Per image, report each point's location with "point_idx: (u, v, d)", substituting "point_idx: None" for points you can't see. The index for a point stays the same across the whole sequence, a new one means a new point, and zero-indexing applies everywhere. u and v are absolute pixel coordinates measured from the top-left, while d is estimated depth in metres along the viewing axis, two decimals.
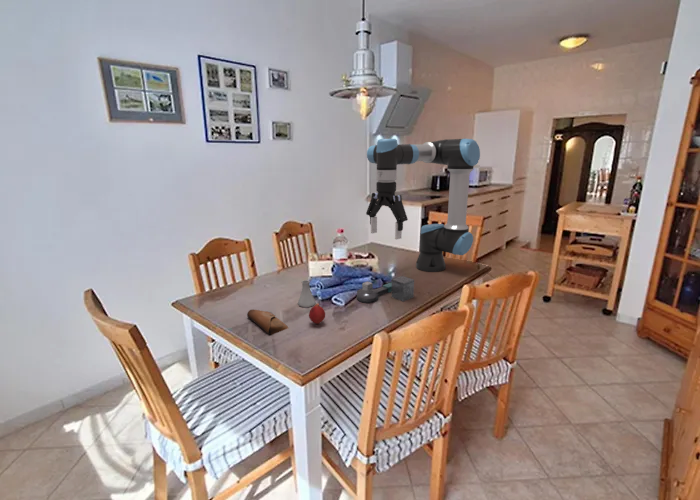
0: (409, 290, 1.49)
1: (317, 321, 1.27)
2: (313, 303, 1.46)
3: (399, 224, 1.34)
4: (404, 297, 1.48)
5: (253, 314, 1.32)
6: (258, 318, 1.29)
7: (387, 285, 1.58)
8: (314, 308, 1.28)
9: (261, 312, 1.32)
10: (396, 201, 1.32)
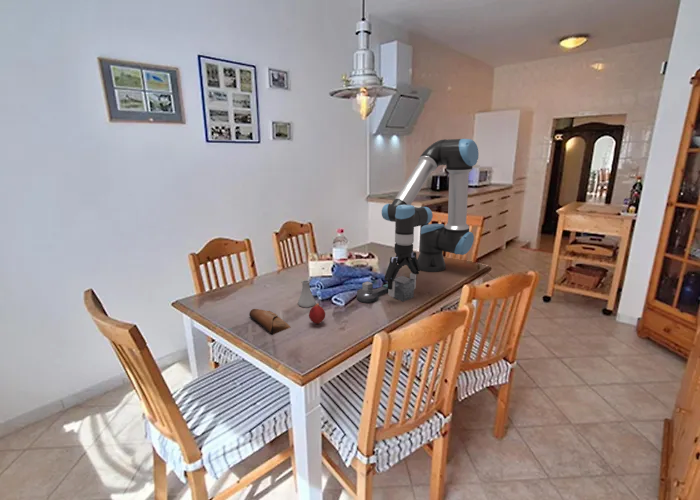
0: (409, 290, 1.49)
1: (317, 321, 1.27)
2: (313, 303, 1.46)
3: None
4: (404, 297, 1.48)
5: (255, 314, 1.33)
6: (260, 317, 1.30)
7: (387, 285, 1.58)
8: (314, 308, 1.28)
9: (263, 311, 1.33)
10: None
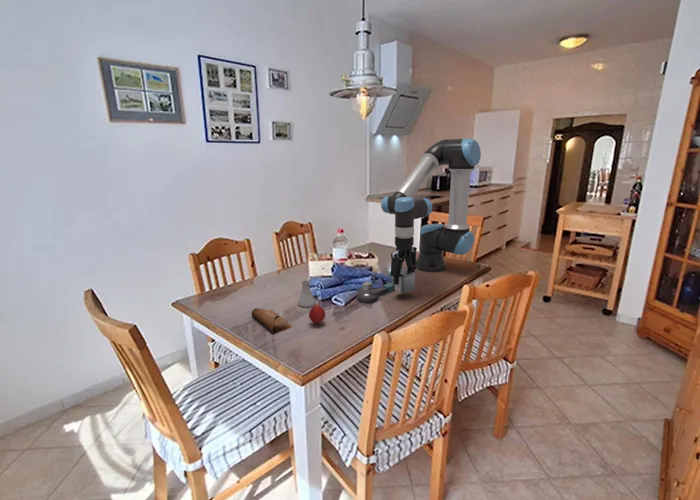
0: (410, 282, 1.49)
1: (317, 321, 1.27)
2: (313, 303, 1.46)
3: None
4: (405, 289, 1.48)
5: (257, 313, 1.33)
6: (262, 316, 1.30)
7: (387, 285, 1.58)
8: (314, 308, 1.28)
9: (265, 311, 1.33)
10: None
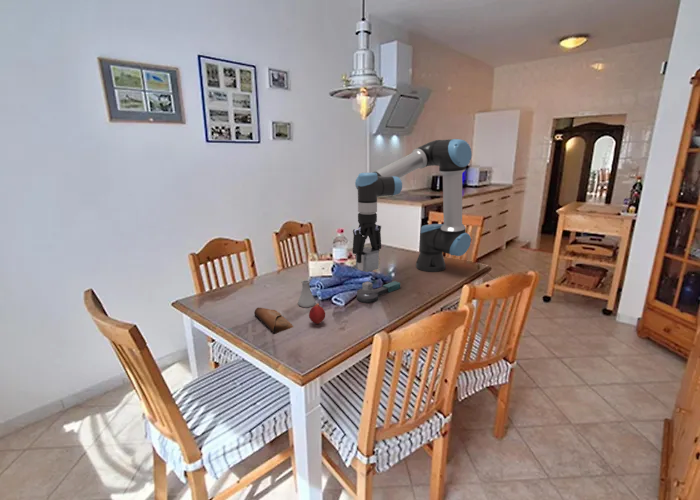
0: (373, 260, 1.45)
1: (317, 321, 1.27)
2: (313, 303, 1.46)
3: None
4: (368, 267, 1.43)
5: (260, 312, 1.34)
6: (264, 316, 1.30)
7: (387, 285, 1.58)
8: (314, 308, 1.28)
9: (267, 310, 1.34)
10: None
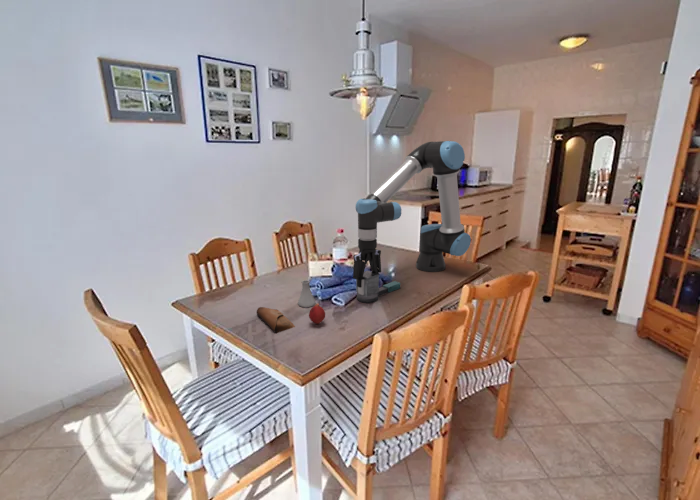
0: (373, 285, 1.47)
1: (317, 321, 1.27)
2: (313, 303, 1.46)
3: None
4: (368, 292, 1.46)
5: (262, 312, 1.34)
6: (266, 315, 1.31)
7: (387, 285, 1.58)
8: (314, 308, 1.28)
9: (269, 310, 1.34)
10: None
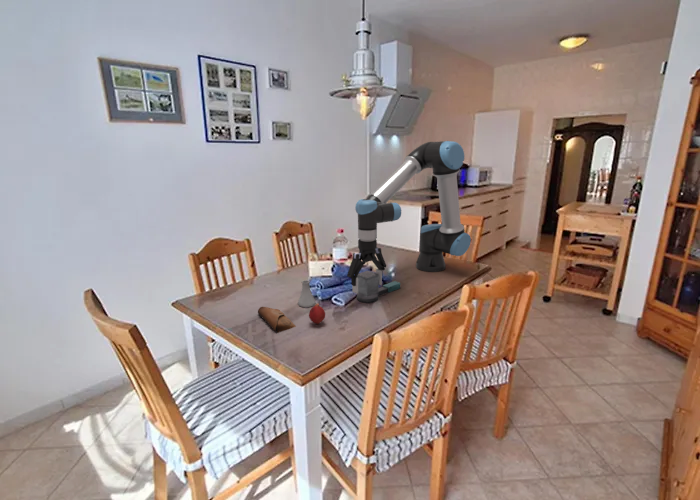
0: (373, 285, 1.47)
1: (317, 321, 1.27)
2: (313, 303, 1.46)
3: None
4: (368, 292, 1.46)
5: (263, 311, 1.34)
6: (267, 315, 1.31)
7: (387, 285, 1.58)
8: (314, 308, 1.28)
9: (271, 310, 1.34)
10: None
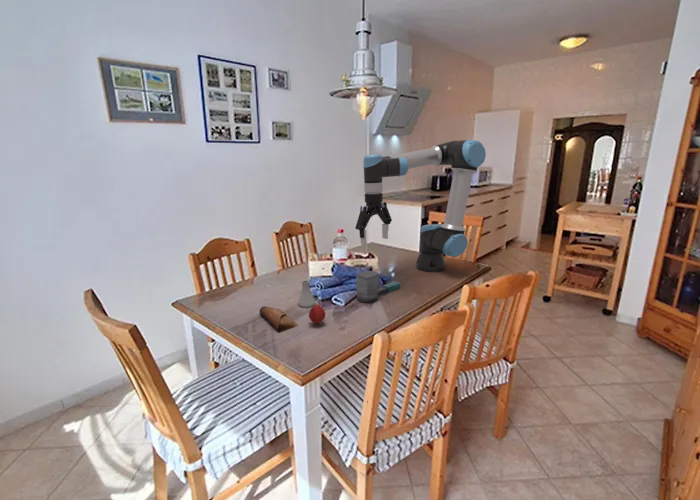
0: (373, 285, 1.47)
1: (317, 321, 1.27)
2: (313, 303, 1.46)
3: None
4: (368, 292, 1.46)
5: (265, 311, 1.35)
6: (269, 315, 1.31)
7: (387, 285, 1.58)
8: (314, 308, 1.28)
9: (272, 309, 1.34)
10: None
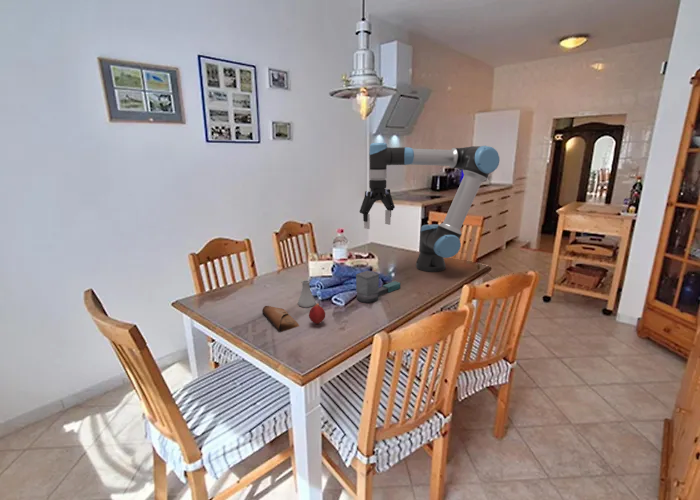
0: (373, 285, 1.47)
1: (317, 321, 1.27)
2: (313, 303, 1.46)
3: None
4: (368, 292, 1.46)
5: (267, 310, 1.35)
6: (271, 314, 1.32)
7: (387, 285, 1.58)
8: (314, 308, 1.28)
9: (275, 309, 1.35)
10: None
